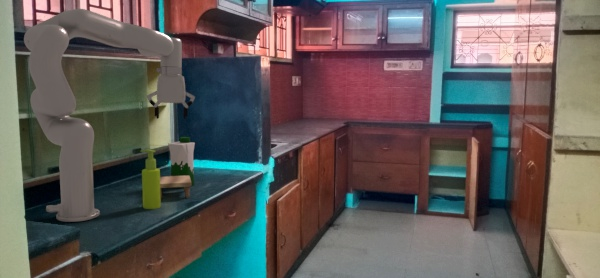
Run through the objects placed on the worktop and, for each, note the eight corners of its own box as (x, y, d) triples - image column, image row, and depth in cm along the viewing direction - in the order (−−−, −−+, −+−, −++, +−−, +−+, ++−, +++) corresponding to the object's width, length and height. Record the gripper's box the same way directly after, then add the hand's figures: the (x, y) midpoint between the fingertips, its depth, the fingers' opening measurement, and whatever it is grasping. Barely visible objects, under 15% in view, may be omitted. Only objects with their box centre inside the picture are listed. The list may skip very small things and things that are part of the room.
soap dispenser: (149, 203, 169) (147, 147, 167) (164, 205, 166) (163, 149, 164) (136, 207, 164) (135, 150, 162) (152, 210, 161) (150, 151, 159)
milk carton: (197, 184, 199) (196, 137, 197) (182, 189, 191) (182, 139, 189) (181, 182, 203) (180, 136, 201) (166, 186, 195) (165, 138, 193)
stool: (155, 200, 174) (155, 184, 173) (155, 191, 186) (155, 176, 185) (191, 198, 177) (191, 182, 177) (189, 190, 190) (189, 175, 189)
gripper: (145, 70, 169) (146, 119, 171) (195, 72, 174) (195, 119, 175) (147, 71, 176) (147, 117, 178) (194, 73, 181) (194, 118, 183)
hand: (171, 118), depth 177 cm, fingers open, 9 cm apart
